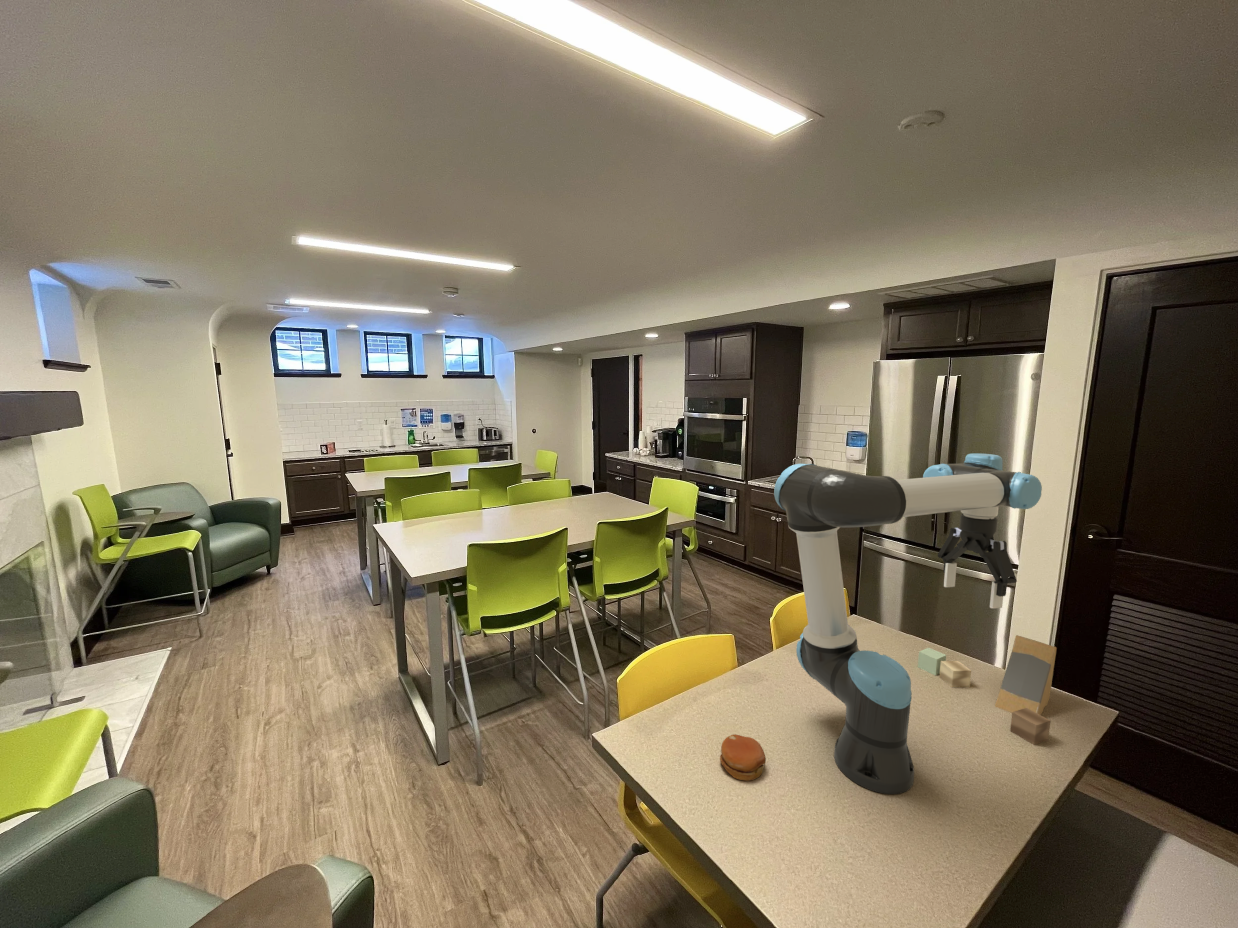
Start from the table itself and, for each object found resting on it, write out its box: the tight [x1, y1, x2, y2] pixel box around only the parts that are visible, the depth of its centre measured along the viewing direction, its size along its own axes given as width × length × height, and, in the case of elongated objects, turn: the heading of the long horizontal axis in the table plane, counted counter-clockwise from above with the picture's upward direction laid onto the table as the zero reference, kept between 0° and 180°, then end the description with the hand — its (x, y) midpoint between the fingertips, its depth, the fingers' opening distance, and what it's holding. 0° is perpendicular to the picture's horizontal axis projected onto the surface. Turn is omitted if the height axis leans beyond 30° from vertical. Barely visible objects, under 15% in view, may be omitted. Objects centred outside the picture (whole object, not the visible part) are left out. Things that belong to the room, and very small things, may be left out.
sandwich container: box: [994, 634, 1058, 716], centre depth 125 cm, size 9×15×15 cm, turn 128°
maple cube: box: [938, 660, 972, 689], centre depth 135 cm, size 5×5×5 cm
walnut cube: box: [1009, 708, 1051, 746], centre depth 114 cm, size 5×5×5 cm
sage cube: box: [917, 647, 947, 676], centre depth 142 cm, size 5×5×5 cm
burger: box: [719, 734, 767, 782], centre depth 105 cm, size 10×9×5 cm
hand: (971, 596), depth 124 cm, fingers open, 13 cm apart
